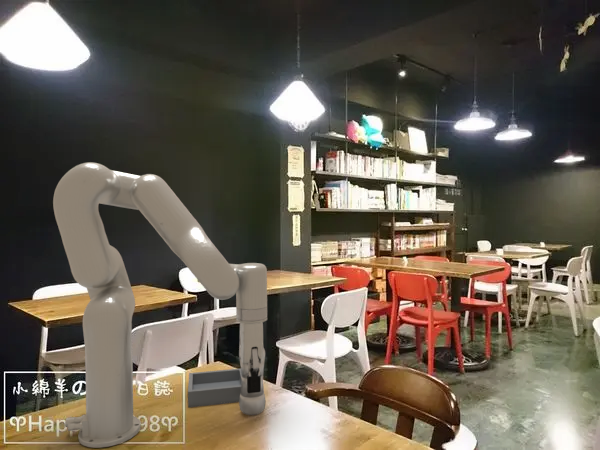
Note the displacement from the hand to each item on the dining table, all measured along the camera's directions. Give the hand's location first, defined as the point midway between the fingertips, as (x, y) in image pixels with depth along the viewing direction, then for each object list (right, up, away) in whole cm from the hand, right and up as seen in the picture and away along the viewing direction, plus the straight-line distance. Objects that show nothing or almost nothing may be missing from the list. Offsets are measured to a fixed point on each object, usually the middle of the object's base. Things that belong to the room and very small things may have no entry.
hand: (252, 386), depth 101 cm
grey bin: (-11, -6, +11) cm, 17 cm away
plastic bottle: (0, -7, 0) cm, 7 cm away
